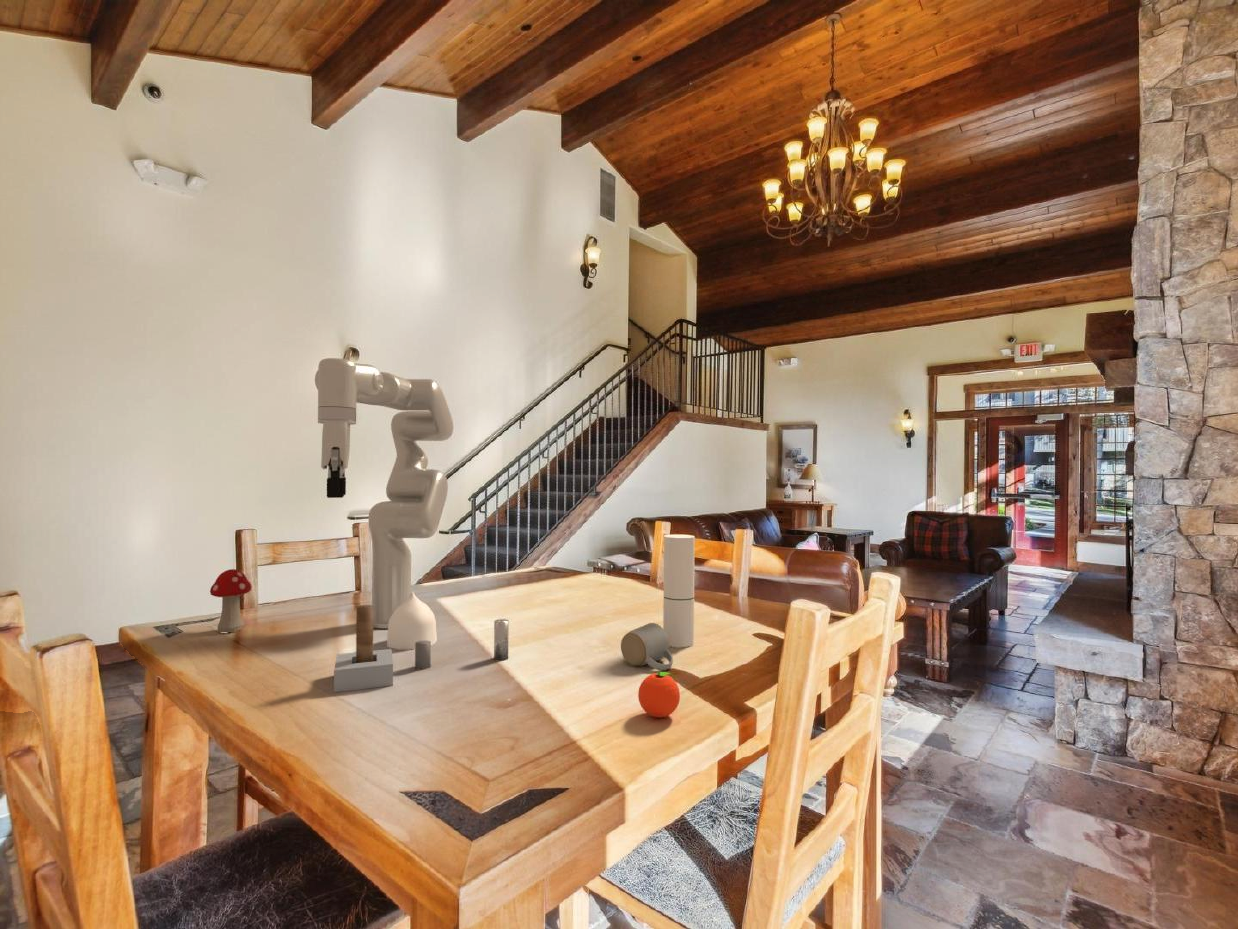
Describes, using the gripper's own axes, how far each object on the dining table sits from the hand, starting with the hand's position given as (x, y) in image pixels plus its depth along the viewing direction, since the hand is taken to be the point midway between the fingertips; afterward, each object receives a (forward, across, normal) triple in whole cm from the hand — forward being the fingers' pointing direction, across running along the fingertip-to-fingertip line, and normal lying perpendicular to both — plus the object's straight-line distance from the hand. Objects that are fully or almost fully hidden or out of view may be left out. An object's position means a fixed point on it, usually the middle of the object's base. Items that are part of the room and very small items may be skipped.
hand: (336, 496), depth 132 cm
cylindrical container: (+34, +17, +74) cm, 83 cm away
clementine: (+34, +53, +52) cm, 82 cm away
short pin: (+34, +14, +17) cm, 41 cm away
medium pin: (+34, +14, +33) cm, 50 cm away
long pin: (+34, +18, +6) cm, 39 cm away
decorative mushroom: (+34, -31, -25) cm, 53 cm away
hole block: (+34, +18, +6) cm, 39 cm away
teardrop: (+35, -5, +16) cm, 38 cm away
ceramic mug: (+35, +28, +61) cm, 76 cm away
